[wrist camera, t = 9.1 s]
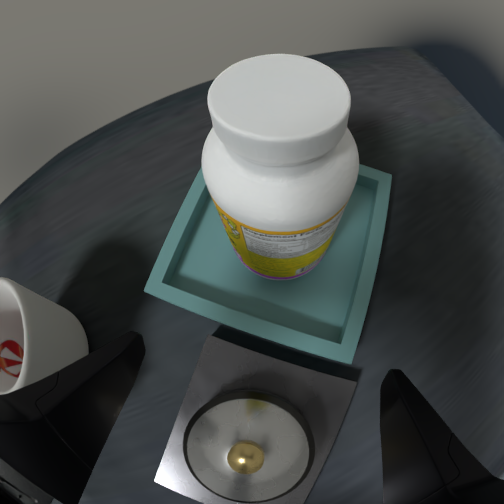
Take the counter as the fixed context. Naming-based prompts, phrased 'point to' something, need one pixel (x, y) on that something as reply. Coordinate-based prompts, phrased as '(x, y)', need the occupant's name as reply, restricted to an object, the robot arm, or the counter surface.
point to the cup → (35, 337)
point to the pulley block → (252, 428)
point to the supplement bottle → (280, 160)
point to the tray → (278, 291)
